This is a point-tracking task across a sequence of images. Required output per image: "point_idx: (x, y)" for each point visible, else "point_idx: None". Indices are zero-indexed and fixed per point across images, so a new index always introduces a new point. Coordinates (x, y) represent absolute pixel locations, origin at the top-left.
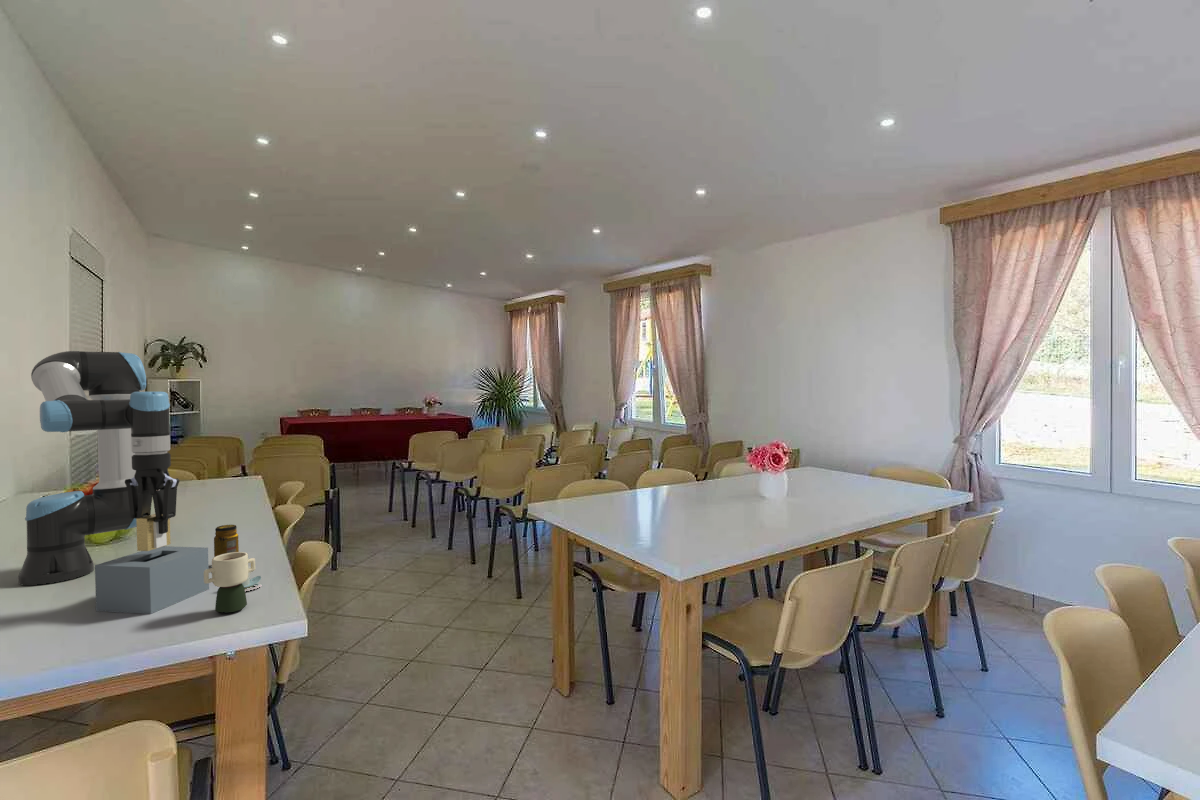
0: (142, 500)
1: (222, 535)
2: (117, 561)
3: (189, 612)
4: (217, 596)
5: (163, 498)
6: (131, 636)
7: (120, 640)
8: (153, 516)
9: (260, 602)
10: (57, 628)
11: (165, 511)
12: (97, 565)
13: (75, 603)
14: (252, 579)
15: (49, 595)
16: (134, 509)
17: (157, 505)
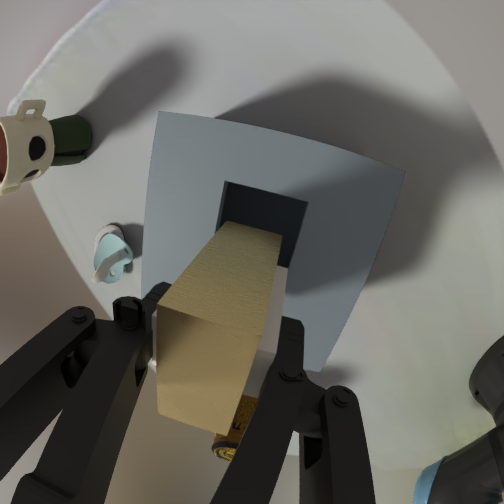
0: (218, 496)
1: (231, 433)
2: (350, 207)
3: (136, 126)
4: (63, 122)
5: (3, 405)
6: (172, 20)
7: (180, 6)
8: (172, 362)
9: (58, 176)
10: (371, 65)
11: (52, 334)
12: (394, 167)
13: (440, 223)
14: (115, 277)
15: (496, 281)
16: (327, 441)
17: (76, 394)
